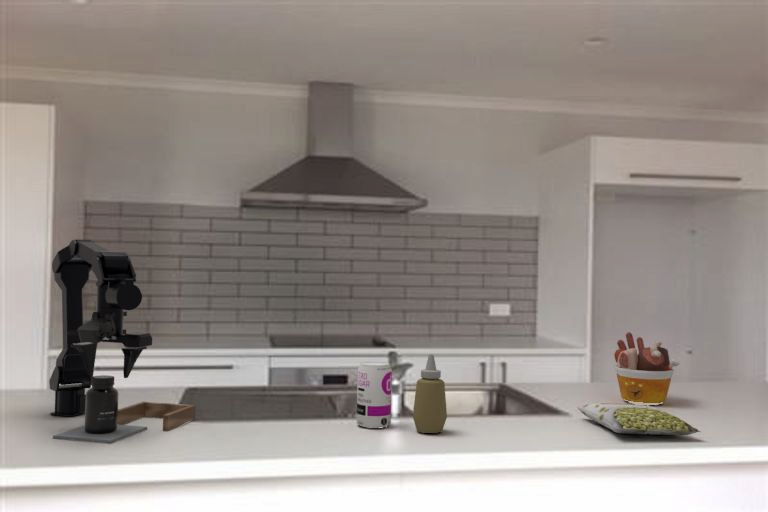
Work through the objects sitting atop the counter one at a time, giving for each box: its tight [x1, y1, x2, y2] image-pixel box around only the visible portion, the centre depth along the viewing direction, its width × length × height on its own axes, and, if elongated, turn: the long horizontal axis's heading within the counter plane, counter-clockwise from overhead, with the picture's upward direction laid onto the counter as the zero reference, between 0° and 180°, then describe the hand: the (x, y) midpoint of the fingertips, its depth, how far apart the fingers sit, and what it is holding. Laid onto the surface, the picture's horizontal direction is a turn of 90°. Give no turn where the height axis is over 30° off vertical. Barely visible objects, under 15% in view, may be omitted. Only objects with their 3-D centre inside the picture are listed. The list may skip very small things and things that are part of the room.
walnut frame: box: [117, 401, 196, 432], centre depth 175 cm, size 14×13×4 cm
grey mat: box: [52, 424, 148, 444], centre depth 163 cm, size 14×14×1 cm
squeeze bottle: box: [412, 354, 448, 434], centre depth 172 cm, size 8×8×18 cm
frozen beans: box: [576, 403, 701, 436], centre depth 179 cm, size 21×6×25 cm
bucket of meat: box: [613, 332, 680, 403], centre depth 218 cm, size 20×16×20 cm
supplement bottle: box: [83, 374, 119, 434], centre depth 163 cm, size 7×7×12 cm
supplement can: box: [356, 361, 393, 428], centre depth 177 cm, size 8×8×15 cm
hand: (107, 376), depth 166 cm, fingers open, 9 cm apart
